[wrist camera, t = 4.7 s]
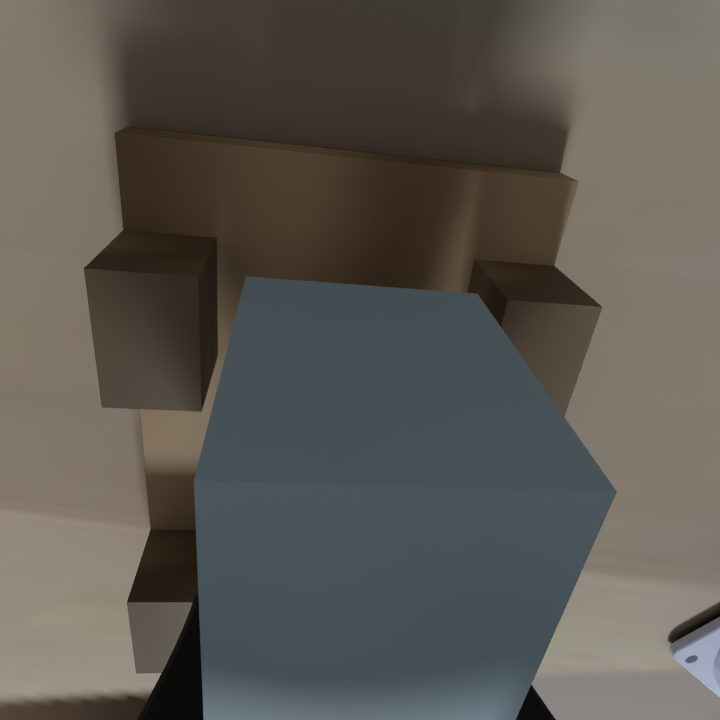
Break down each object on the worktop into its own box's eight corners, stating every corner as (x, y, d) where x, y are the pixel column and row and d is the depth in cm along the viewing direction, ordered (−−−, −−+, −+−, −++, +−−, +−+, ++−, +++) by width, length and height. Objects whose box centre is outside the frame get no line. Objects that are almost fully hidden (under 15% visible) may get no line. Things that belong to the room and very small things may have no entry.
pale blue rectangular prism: (477, 293, 10) (616, 491, 5) (376, 731, 16) (402, 976, 12) (245, 276, 9) (193, 479, 5) (239, 735, 16) (215, 993, 12)
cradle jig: (560, 172, 13) (636, 208, 10) (441, 610, 21) (464, 706, 18) (128, 127, 12) (68, 151, 9) (167, 611, 20) (141, 714, 17)
